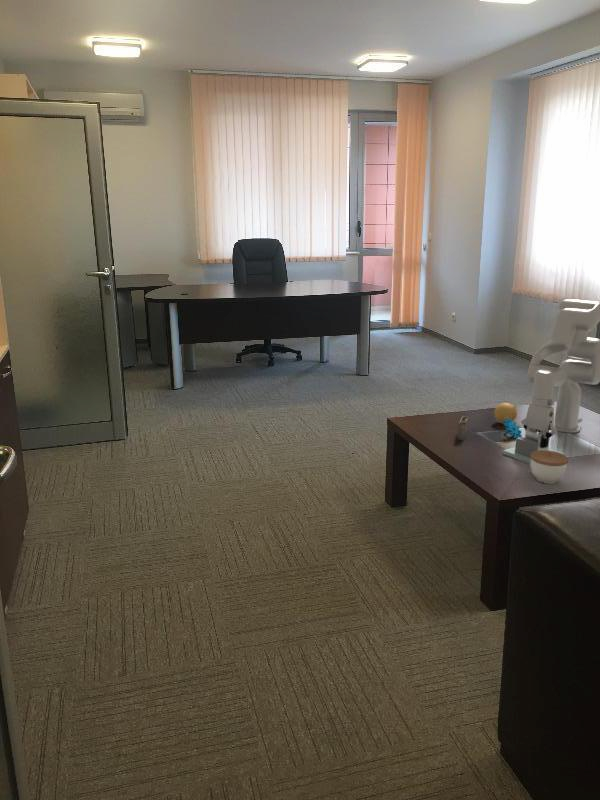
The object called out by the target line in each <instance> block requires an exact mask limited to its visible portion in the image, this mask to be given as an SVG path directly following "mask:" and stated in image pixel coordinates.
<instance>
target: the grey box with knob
mask: <svg viewBox="0 0 600 800" xmlns="http://www.w3.org/2000/svg"><path fill="white" fill-rule="evenodd" d="M525 431H526V432H525V433H524V438H526V439H529V440H532V441H535V442H538V450H537V451H539V450H547V451H548V448H549V447H550V440H551V437H550V438H549V441H548V446H547V447H545V448H541V444H542V438H544V437H543V433H542V431H539V430H536V429H533V428H531V429H528V430H525ZM549 432H551V430H549ZM546 435H547V434H546Z"/></svg>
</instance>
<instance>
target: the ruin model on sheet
mask: <svg viewBox="0 0 600 800" xmlns="http://www.w3.org/2000/svg"><path fill="white" fill-rule="evenodd" d="M469 418H470V417H469V416H468V415H467V416H465V415H463V416H462V417H461V419H460V420H459V423H458V430H457V441H458V440H459V441H464V440H465V438H466V436H467V434H468V428H469Z"/></svg>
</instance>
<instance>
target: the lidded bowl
mask: <svg viewBox="0 0 600 800" xmlns="http://www.w3.org/2000/svg"><path fill="white" fill-rule="evenodd" d="M568 462H569V458H568V457H567V455H566V456H565V455H563V454H561V453H558V452H554V451H547V450H539V451H534V452H532V453H531V461H530V464H529V465H530V466H529V467H530V471H531V473H532V475H533V476H534V478H535V480H536V481H538V482H540V481H541V483H542V482H544V483H543V484H548V483H553V484H556V483H557V482H558V481H560V480H561V479H562V478H563V477H564V475H565V473H566V470H567V467H568V466H567V465H568Z"/></svg>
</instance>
